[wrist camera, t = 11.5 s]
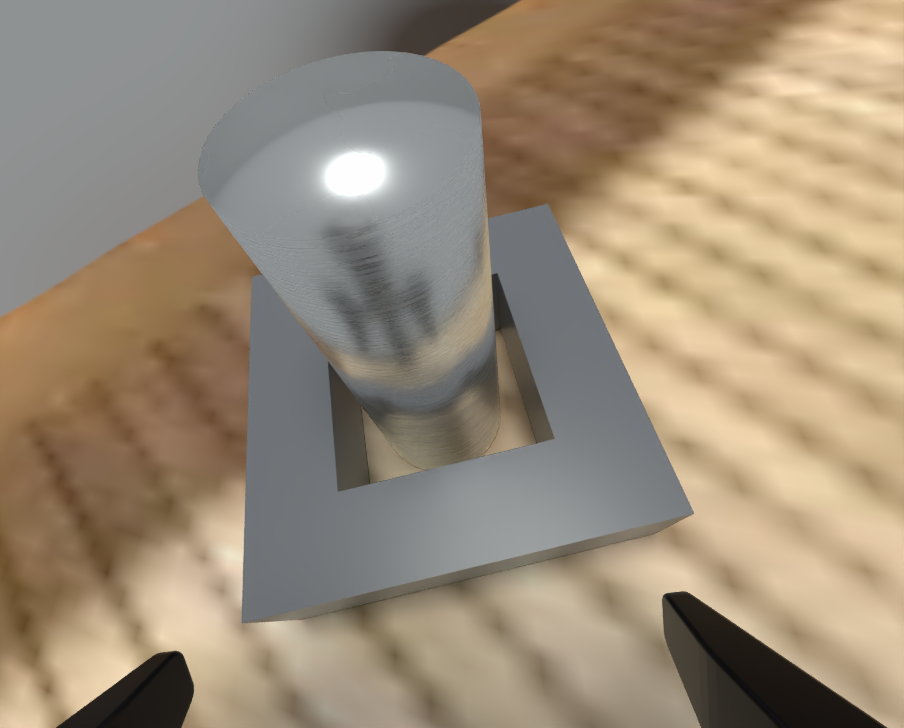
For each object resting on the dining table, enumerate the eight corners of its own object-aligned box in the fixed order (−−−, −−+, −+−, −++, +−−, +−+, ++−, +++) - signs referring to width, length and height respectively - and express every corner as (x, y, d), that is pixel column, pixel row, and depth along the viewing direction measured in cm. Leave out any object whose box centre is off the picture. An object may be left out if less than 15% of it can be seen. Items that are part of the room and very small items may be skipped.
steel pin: (477, 488, 17) (411, 263, 6) (366, 450, 19) (138, 205, 7) (514, 380, 19) (517, 59, 8) (412, 352, 21) (290, 44, 9)
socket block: (654, 534, 16) (694, 513, 12) (301, 619, 16) (241, 623, 12) (542, 267, 22) (547, 203, 19) (292, 328, 22) (251, 276, 19)
